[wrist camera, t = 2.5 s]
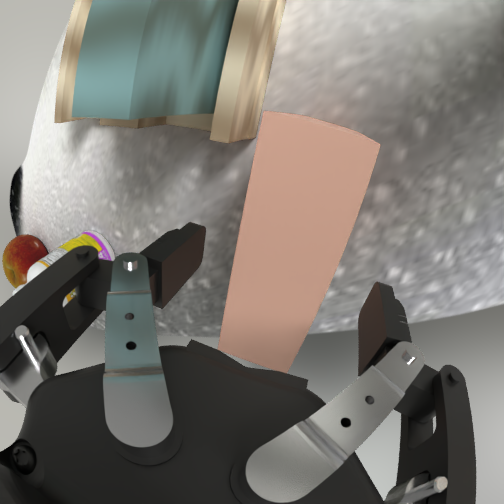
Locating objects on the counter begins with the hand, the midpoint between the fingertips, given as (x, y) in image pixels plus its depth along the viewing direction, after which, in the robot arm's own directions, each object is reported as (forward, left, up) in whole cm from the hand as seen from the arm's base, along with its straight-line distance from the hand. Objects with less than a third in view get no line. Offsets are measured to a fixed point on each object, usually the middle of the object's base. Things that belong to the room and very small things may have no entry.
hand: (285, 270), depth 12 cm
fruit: (+19, -38, -10) cm, 44 cm away
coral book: (0, 0, -10) cm, 10 cm away
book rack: (-11, -14, -10) cm, 21 cm away
